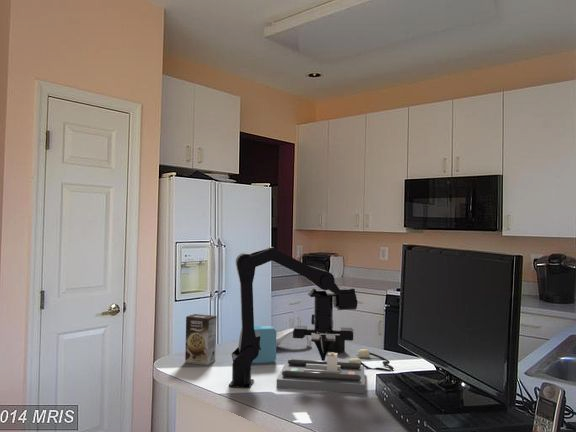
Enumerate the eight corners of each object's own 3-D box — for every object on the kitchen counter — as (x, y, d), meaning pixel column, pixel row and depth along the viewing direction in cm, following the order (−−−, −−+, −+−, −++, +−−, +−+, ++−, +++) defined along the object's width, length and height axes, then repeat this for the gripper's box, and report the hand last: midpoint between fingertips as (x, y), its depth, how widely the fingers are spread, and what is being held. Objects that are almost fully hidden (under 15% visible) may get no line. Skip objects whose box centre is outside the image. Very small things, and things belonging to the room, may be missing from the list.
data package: (273, 358, 169) (273, 325, 169) (276, 362, 165) (276, 328, 165) (240, 360, 166) (240, 327, 166) (242, 364, 161) (243, 329, 162)
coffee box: (184, 362, 163) (185, 316, 163) (193, 357, 169) (194, 313, 169) (207, 365, 160) (208, 318, 160) (216, 360, 166) (216, 315, 166)
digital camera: (346, 351, 180) (347, 333, 180) (338, 354, 176) (338, 335, 176) (326, 346, 187) (326, 328, 187) (317, 348, 183) (317, 331, 183)
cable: (399, 361, 170) (399, 351, 170) (392, 374, 154) (392, 364, 154) (357, 356, 175) (357, 346, 175) (346, 368, 160) (346, 358, 160)
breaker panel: (364, 393, 135) (364, 378, 135) (276, 387, 139) (276, 373, 139) (364, 373, 153) (364, 360, 153) (285, 369, 157) (286, 356, 157)
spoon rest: (253, 352, 178) (253, 333, 178) (250, 344, 189) (250, 326, 189) (313, 350, 182) (313, 332, 182) (307, 342, 193) (307, 325, 193)
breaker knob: (336, 374, 143) (336, 356, 143) (326, 373, 144) (327, 355, 144) (337, 370, 147) (337, 352, 147) (327, 369, 148) (327, 351, 148)
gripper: (353, 307, 153) (353, 354, 153) (297, 305, 156) (297, 352, 155) (353, 313, 142) (353, 364, 142) (292, 311, 145) (292, 361, 144)
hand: (323, 360), depth 146 cm, fingers closed
